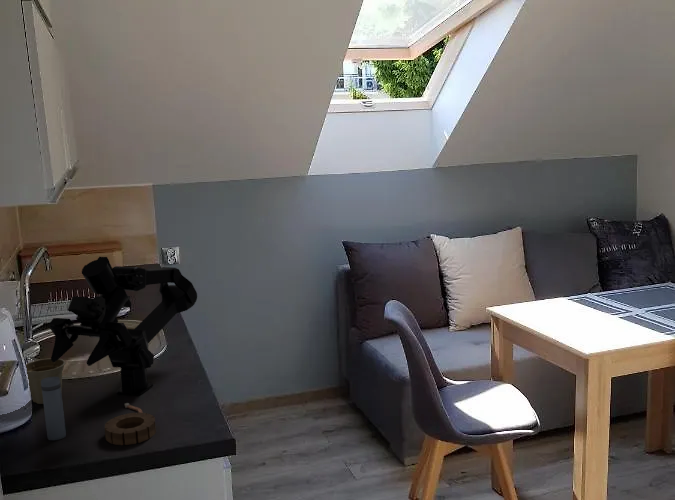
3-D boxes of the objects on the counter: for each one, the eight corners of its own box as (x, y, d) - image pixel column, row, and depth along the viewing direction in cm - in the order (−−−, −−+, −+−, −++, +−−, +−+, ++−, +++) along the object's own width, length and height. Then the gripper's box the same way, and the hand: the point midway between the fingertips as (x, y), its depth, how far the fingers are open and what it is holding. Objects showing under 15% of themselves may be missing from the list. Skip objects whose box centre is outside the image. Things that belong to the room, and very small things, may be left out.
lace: (124, 406, 158) (124, 403, 158) (137, 403, 159) (137, 401, 159) (133, 426, 147) (133, 423, 147) (147, 423, 149) (147, 421, 148)
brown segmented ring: (122, 421, 150) (121, 410, 149) (164, 425, 147) (163, 414, 147) (96, 442, 140) (95, 431, 140) (140, 447, 138) (139, 435, 137)
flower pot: (64, 388, 170) (60, 355, 169) (72, 400, 162) (68, 366, 161) (23, 397, 165) (19, 363, 164) (29, 410, 157) (25, 375, 156)
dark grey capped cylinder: (54, 431, 146) (48, 375, 144) (70, 433, 145) (63, 377, 143) (43, 439, 143) (36, 382, 140) (58, 441, 142) (52, 383, 139)
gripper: (56, 281, 154) (15, 334, 143) (126, 285, 148) (89, 341, 137) (78, 315, 161) (41, 368, 151) (146, 320, 155) (112, 375, 144)
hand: (70, 362), depth 145 cm, fingers open, 9 cm apart
